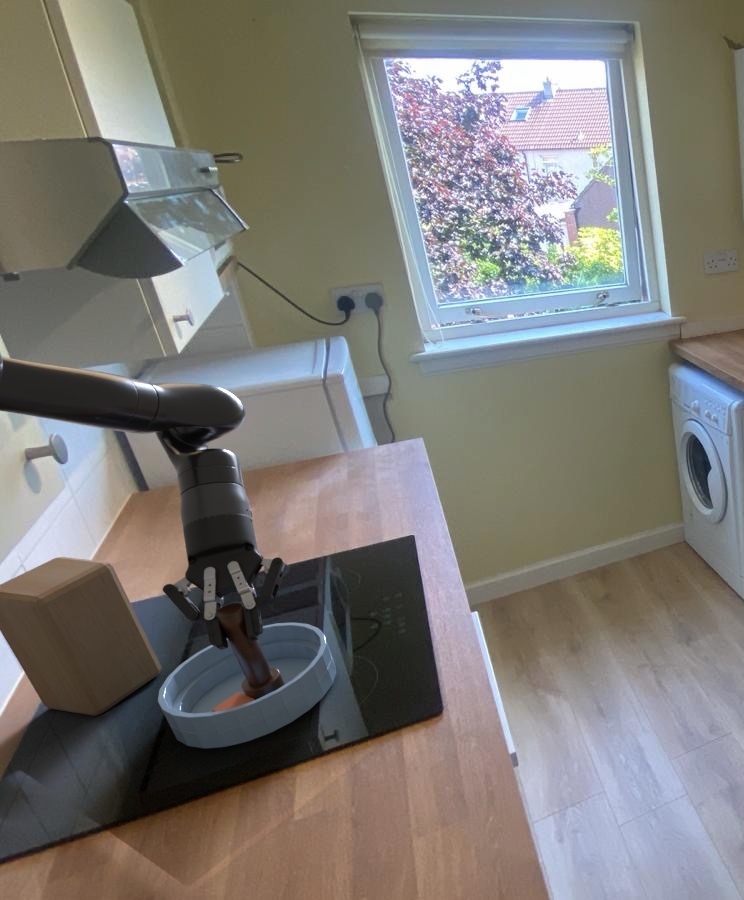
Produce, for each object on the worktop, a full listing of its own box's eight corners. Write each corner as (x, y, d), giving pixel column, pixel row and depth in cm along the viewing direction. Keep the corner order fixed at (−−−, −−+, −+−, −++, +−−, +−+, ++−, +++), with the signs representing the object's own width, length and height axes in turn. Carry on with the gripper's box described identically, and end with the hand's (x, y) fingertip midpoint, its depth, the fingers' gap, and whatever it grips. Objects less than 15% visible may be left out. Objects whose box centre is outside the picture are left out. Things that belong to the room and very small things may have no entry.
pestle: (256, 717, 100) (212, 625, 93) (247, 700, 103) (205, 610, 96) (292, 699, 103) (253, 608, 96) (283, 684, 106) (244, 594, 99)
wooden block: (115, 663, 113) (58, 553, 105) (167, 671, 111) (113, 559, 103) (42, 710, 104) (-27, 594, 96) (98, 719, 102) (32, 601, 94)
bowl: (195, 776, 93) (177, 740, 90) (159, 705, 104) (143, 672, 102) (358, 691, 106) (346, 658, 104) (310, 637, 118) (299, 606, 115)
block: (237, 736, 98) (227, 716, 96) (221, 728, 99) (211, 709, 98) (263, 717, 101) (254, 698, 99) (247, 710, 102) (238, 691, 101)
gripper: (141, 528, 94) (159, 658, 90) (270, 500, 100) (293, 620, 96) (165, 545, 101) (183, 666, 96) (285, 517, 107) (307, 630, 102)
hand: (238, 642), depth 96 cm, fingers closed on pestle, 3 cm apart
